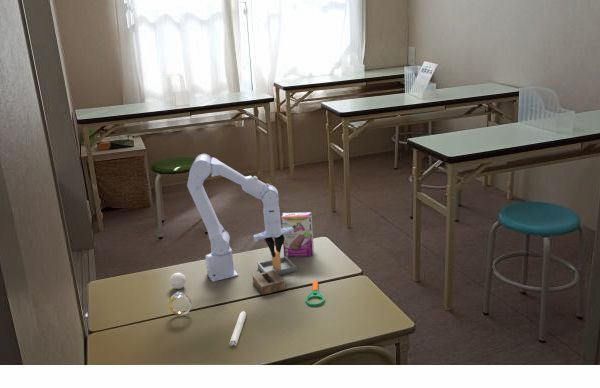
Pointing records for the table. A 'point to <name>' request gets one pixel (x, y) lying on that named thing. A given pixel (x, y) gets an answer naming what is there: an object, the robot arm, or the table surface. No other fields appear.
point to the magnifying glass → (314, 295)
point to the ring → (179, 295)
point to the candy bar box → (298, 234)
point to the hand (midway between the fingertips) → (275, 255)
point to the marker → (238, 328)
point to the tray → (285, 269)
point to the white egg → (177, 280)
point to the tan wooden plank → (276, 260)
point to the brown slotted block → (274, 282)
